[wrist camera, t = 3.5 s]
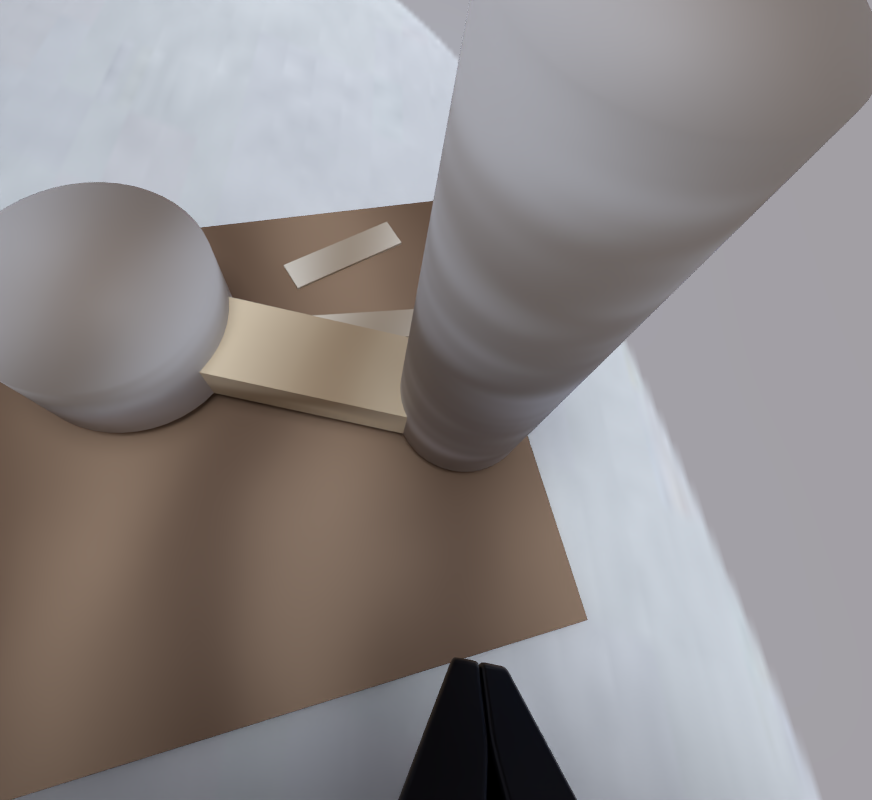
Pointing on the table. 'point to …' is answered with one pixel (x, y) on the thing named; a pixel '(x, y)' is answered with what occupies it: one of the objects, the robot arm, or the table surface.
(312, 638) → the stand board
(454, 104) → the crank handle
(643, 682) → the table surface
